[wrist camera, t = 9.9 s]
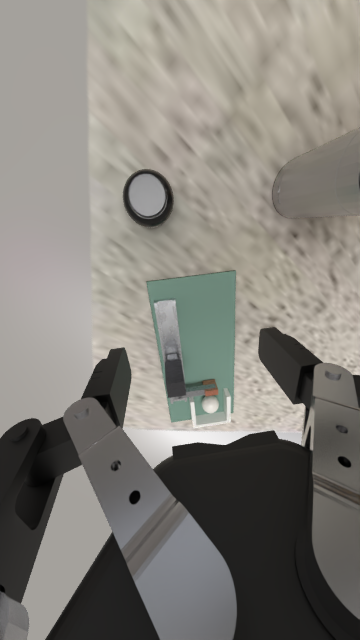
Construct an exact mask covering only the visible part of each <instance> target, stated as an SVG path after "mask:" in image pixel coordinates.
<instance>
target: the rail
mask: <svg viewBox="0 0 360 640" xmlns="http://www.w3.org/2000/svg"><path fill="white" fill-rule="evenodd" d="M154 308H155V313H156V319H157V325H158V331H159V337H160V343H161V349H162V354H163V360H164V366H165V361H168V357H167V355H170V354H177V358H178V359H181V363H182V369H183V375H184V368H183V360H182V352H181V343H180V335H179V327H178V318H177V310H176V301H175V298H170V299H162V300H154ZM184 381H185V377H184ZM185 388H186V385H185ZM181 400H185V402H187V398H183V399H176V400H174V397H172V398H170V401H171V404H173V402H175V401H181Z"/></svg>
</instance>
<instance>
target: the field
mask: <svg viewBox="0 0 360 640" xmlns="http://www.w3.org/2000/svg"><path fill="white" fill-rule="evenodd" d="M147 288H148V294H149V299H150V305H151V310H152V316H153V322H154V327H155V333H156V338H157V344H158V350H159V355H160V361H161V366H162V372H163V378H164V383H165V389H166V382H165V366H164V360H163V354H162V349H161V343H160V337H159V331H158V325H157V319H156V313H155V308H154V300H162V299H170V298H175V301H176V310H177V318H178V327H179V335H180V343H181V352H182V360H183V368H184V377H185V385H186V388H189V387H195V386H202V385H203V384H202V381H206V380H213V379H215V382H216V385H217V387H218V395H212V396H214V397H216V398H217V400H218V402H219V407H218V409H217V411H216V412H214V413H217V412H223V411H224V390H223V388H227V389H228V391H229V393H230V396H231V413H233V401H234V346H235V290H236V271H227V272H219V273H211V274H203V275H195V276H187V277H179V278H171V279H163V280H155V281H147ZM166 394H167V389H166ZM204 397H205V395H201V396H194V397H193V399H194V405H195V415H196V416H197V415H204V414H210V413H207V412H206V411H204V409H203V407H202V400H203V398H204ZM167 400H168V406H169V411H170V417H171V422H177V421H184V420H190V419H191V410H190V401H189V397H188V398H187V402H185V400H181V401H175V402H173V404H171V401H170V398H168V395H167Z"/></svg>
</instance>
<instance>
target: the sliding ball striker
mask: <svg viewBox="0 0 360 640" xmlns="http://www.w3.org/2000/svg"><path fill="white" fill-rule="evenodd" d="M167 357H168V361H165V382H166V389H167V395H168V398H172V397H174V400H176V399H183V398H188V397H194V396H201V395H205V396H212V395H218V387H217V385H216V382H215V379H213V380H206V381H202V384H203V385H202V386H195V387H189V388H185V381H184V375H183V369H182V363H181V359H178V358H177V354H170V355H167Z"/></svg>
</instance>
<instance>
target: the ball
mask: <svg viewBox="0 0 360 640" xmlns="http://www.w3.org/2000/svg"><path fill="white" fill-rule="evenodd" d="M202 407H203V409H204V411H206V412H207V413H214V412H216V411H217V409H218V407H219V402H218V400H217V398H216V397H214V396H205V397H204V398H203V400H202Z"/></svg>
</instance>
